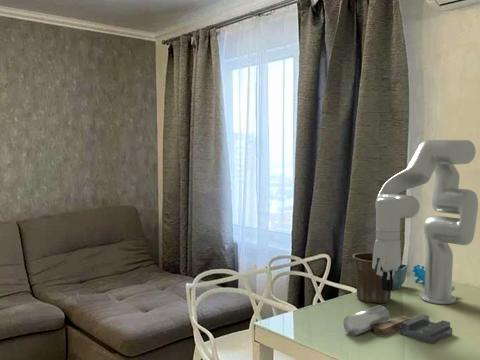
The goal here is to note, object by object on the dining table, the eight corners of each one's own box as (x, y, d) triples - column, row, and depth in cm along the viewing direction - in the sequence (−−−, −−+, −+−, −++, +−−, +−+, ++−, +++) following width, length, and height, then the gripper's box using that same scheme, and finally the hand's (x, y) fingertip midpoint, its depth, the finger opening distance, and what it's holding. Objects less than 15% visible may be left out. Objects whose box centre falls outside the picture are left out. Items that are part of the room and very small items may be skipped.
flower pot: (401, 291, 199) (402, 269, 199) (379, 287, 204) (380, 266, 204) (407, 286, 207) (408, 264, 206) (385, 282, 212) (386, 261, 211)
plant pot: (366, 290, 201) (367, 250, 200) (403, 299, 189) (405, 257, 188) (343, 298, 190) (344, 256, 188) (381, 308, 178) (383, 263, 177)
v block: (419, 324, 162) (419, 313, 162) (452, 334, 154) (452, 323, 154) (398, 333, 155) (399, 322, 154) (432, 344, 146) (432, 332, 146)
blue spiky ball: (421, 284, 204) (410, 263, 211) (412, 291, 208) (402, 270, 214) (440, 284, 209) (429, 264, 215) (431, 291, 213) (420, 271, 219)
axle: (373, 321, 165) (373, 303, 165) (389, 326, 161) (389, 307, 161) (343, 333, 155) (343, 313, 155) (359, 338, 150) (359, 318, 150)
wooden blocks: (375, 313, 172) (376, 307, 172) (410, 324, 163) (410, 318, 162) (347, 324, 162) (347, 318, 162) (382, 335, 152) (382, 329, 152)
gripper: (390, 230, 170) (389, 283, 172) (364, 237, 161) (364, 292, 162) (410, 233, 165) (409, 288, 166) (384, 240, 155) (384, 298, 157)
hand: (387, 290), depth 164 cm, fingers closed
